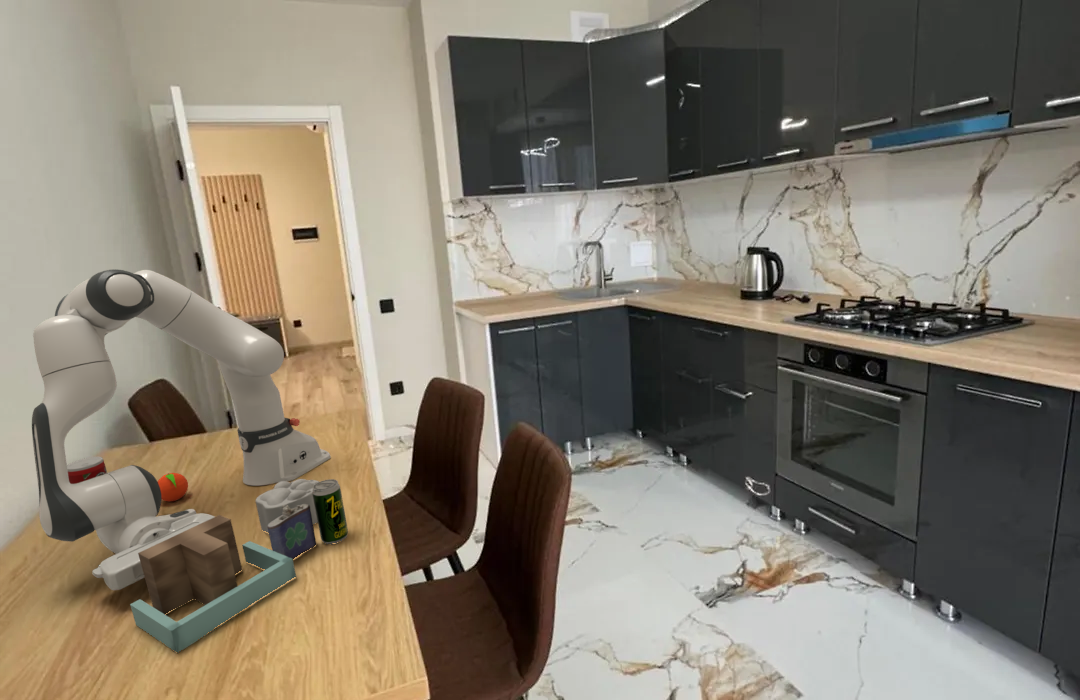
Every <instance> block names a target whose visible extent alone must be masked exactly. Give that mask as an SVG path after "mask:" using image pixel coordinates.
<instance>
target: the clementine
mask: <svg viewBox="0 0 1080 700" xmlns="http://www.w3.org/2000/svg"><path fill="white" fill-rule="evenodd" d="M157 482H158V484H159V487H160V490H161V497H162V501H164V502H169V503H172V502H176V501H177V500H180V499H182V498H183V497H184V496H185V495H186V494H187V492H188V490H189V482H188V480H187V478H186V477H185V476H184V475H182V474H181V473H178V472H169V473H166V474H164V475H162V476H160V478H159V479H158V480H157Z"/></svg>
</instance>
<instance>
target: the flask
mask: <svg viewBox="0 0 1080 700" xmlns="http://www.w3.org/2000/svg"><path fill="white" fill-rule="evenodd" d="M284 506H286V505H283V506H282V507H284ZM280 509H282V508H280ZM267 527H268V532H269V534H268V536H269V541H270V546H271V550H272V551H275V552H277V553H280V554H282V555H285V556H287V557H289V558H292V559H294V558H295V557H297V556H298V555H300V554H301V553H303V552H305V551H307V550H309V549H310V548H312V549H314V548H315V547H314V546H315V545H316V544H317V540H316V535H315V528H314V525H313V523H312V516H311V511H310V505H307V504H302V505H298V506H296V507H295V508H293V509H291V508H289V506H288V505H287V506H286V507H284V508H283V515H281V516H279V517H278V518H276V519H275V520H273V521H272V522H271V523H269V524H268V525H267ZM316 546H317V545H316ZM313 547H314V548H313ZM309 551H310V550H309ZM307 552H308V551H307Z"/></svg>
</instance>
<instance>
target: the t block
mask: <svg viewBox="0 0 1080 700" xmlns="http://www.w3.org/2000/svg"><path fill="white" fill-rule="evenodd" d="M239 554H240V553H239V549H238V545H237V542H236V537H235V531H234V528H233V523H232V519H230V518H229V517H225V516H223V515H220V514H218V515H216V516H215V517H214V518H212V519H210V520H207V521H205V522H203V523H201V524H199V525H197V526H195V527H192V528H190V529H188V530H186V531H184V532H182V533H180V534H178V535H175V536H173V537H171V538H169V539H167V540H165V541H163V542H161V543H158V544H156V545H154V546H152V547H150V548H148V549H146V550H144V551H141V552H139V553H138V555H139V559H140V562H141V566H142V569H143V573H144V579H145V583H146V588H147V591H148V594H149V598H150V602H151V606H152V607H153V608H155V609H157V610H158V611H160V612H161V613H163V614H166V613H168V612H169V611H171V610H173V609H175V608H177V607H179V606H181V605H183V604H185V603H187V602H188V601H190V600H192V599H194V600H195V599H196V600H195V601H197V600H198V601H200V602H201V603H200V602H199V603H200V604H202V603H203V604H202V605H203V606H205V605H206V604H208V603H210V602H212V601H213V600H215V599H217V598H218V597H220V596H222V595H223V594H225V593H227V592H229V591H230V590H232V589H234V588H235V587H237V586H238V583H237V578H236V576H235V574H236V573H238V572H239V571H241V570H242V571H243V566H242V562H241V559H240V555H239ZM192 601H193V600H192ZM198 601H197V602H198ZM190 602H191V601H190ZM188 603H189V602H188ZM188 603H187V604H188ZM185 605H186V604H185ZM183 606H184V605H183ZM181 607H182V606H181ZM179 608H180V607H179Z"/></svg>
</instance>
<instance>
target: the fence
mask: <svg viewBox="0 0 1080 700" xmlns="http://www.w3.org/2000/svg"><path fill="white" fill-rule="evenodd" d="M241 547H242V551H243V556H244V560H245V563H246V562H248V563H251V564H254V565H256V566H258V567H260V568H262V569H265V570H264V571H261V572H259V573H258V574H256V575H254V576H253V577H251V578H249V579H247V580H245V581H244V582H243V583H240V584H239V585H237V587H235V588H234V589H232V590H230V591H229V592H227V593H225V594H223V595H222V596H220V597H218V598H217V599H215V600H213V601H212V602H210V603H208V604H206V605H203V606H201V607H200V608H197V610H195V611H193V612H191V613H190V614H188V615H186V616H184V617H183V618H181V619H179V620H176V621H175V620H174V619H172V617H170V616H168V615H165V614H163V613H161V612H160V611H158V610H157V609H155V608H153V606H152V605H151V604H148V603H147V602H145V600H144V601H143V600H142V599H140V598H139V599H138V600H136V601H133V602H132V603H130V604H129V605H130V609H131V612H132V616H133V619H134V623H135V625H136V627H138V628H140V629H141V630H142V629H143V630H142V631H144V632H145V631H146V633H147V634H148V633H149V634H148V635H150V636H151V635H152V636H151V637H153V638H154V637H155V638H154V639H156V640H157V641H159V642H160V641H161V642H162V644H163V643H164V644H165V645H164V644H163V645H164V646H166V647H168V648H169V649H170V648H171V649H170V650H172V651H173V650H174V652H175V651H176V652H178V653H180V652H182V651H183V650H184V649H186V648H188V647H189V646H192V645H193V644H194V643H196V642H197V641H199V640H201V639H202V638H204V637H205V636H207V635H208V634H207V633H208V632H210V631H212V630H213V629H214V628H215V627H217V626H218V625H220V624H221V623H223V622H225V621H226V620H228V619H229V618H231V617H232V616H234V615H235V614H237V613H239V612H240V611H242V610H243V609H245V608H247V607H248V606H249V605H251V604H252V603H254V602H255V601H257V600H259V599H260V598H262V597H263V596H265V595H267V594H268V593H270V592H272V591H273V590H275V589H277V588H278V587H280V586H281V585H283V584H285V583H286V582H287V581H289V580H291V579H292V578H294V577H296V578H297V574H296V569H295V565H294V561H293V559H292V558H289V557H287V556H285V555H282V554H280V553H277V552H275V551H273V550H272V549H269V548H268V547H265V546H263V545H260V544H258V543H255V542H253V541H251V540H249V541H247V542H245V543H243V544H242V546H241ZM213 631H214V630H213ZM213 631H212V632H213ZM210 633H211V632H210ZM206 634H207V635H206ZM204 635H205V636H204ZM203 636H204V637H203ZM201 637H202V638H201ZM200 638H201V639H200ZM198 639H199V640H198ZM161 642H160V643H161ZM181 650H182V651H181ZM179 651H180V652H179ZM176 652H175V653H176Z"/></svg>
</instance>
